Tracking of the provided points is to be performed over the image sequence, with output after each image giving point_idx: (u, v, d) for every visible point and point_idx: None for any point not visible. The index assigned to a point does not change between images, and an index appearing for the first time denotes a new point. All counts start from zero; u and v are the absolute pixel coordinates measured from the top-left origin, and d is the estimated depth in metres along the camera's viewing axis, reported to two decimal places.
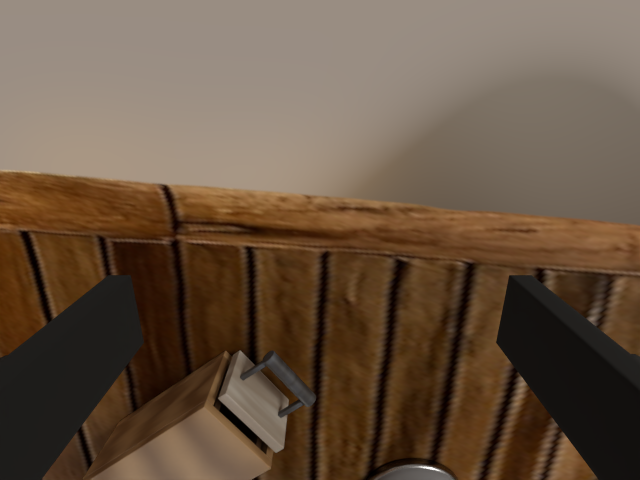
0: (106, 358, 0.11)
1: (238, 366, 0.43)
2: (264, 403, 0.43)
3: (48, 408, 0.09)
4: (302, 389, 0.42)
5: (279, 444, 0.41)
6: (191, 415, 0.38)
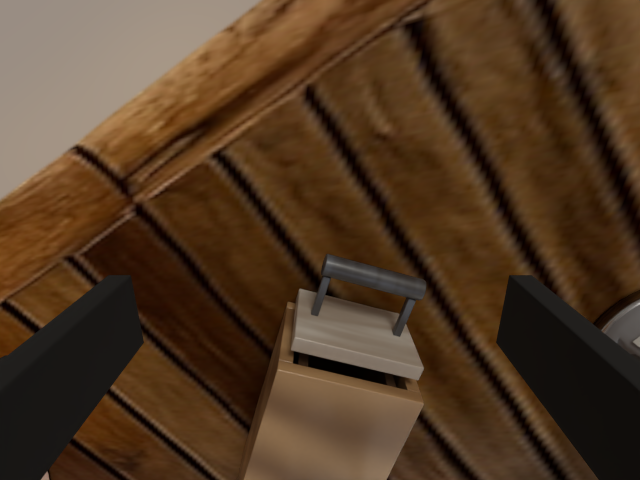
0: (106, 358, 0.11)
1: (303, 304, 0.30)
2: (364, 328, 0.29)
3: (48, 408, 0.09)
4: (397, 279, 0.28)
5: (414, 366, 0.27)
6: (271, 390, 0.26)
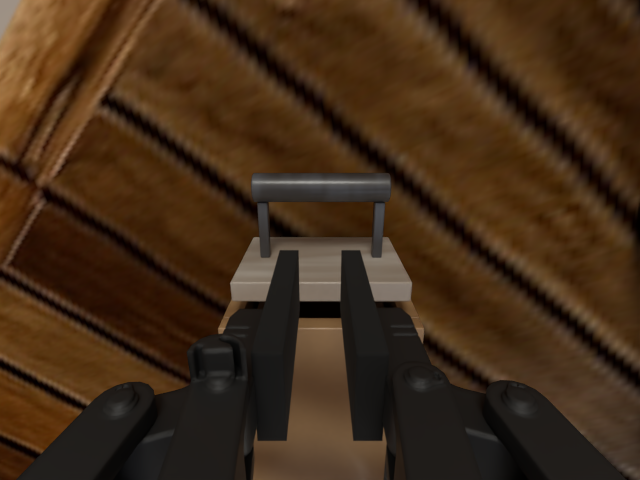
0: (296, 316, 0.13)
1: (254, 250, 0.24)
2: (332, 258, 0.23)
3: (291, 347, 0.11)
4: (349, 178, 0.21)
5: (397, 283, 0.20)
6: None
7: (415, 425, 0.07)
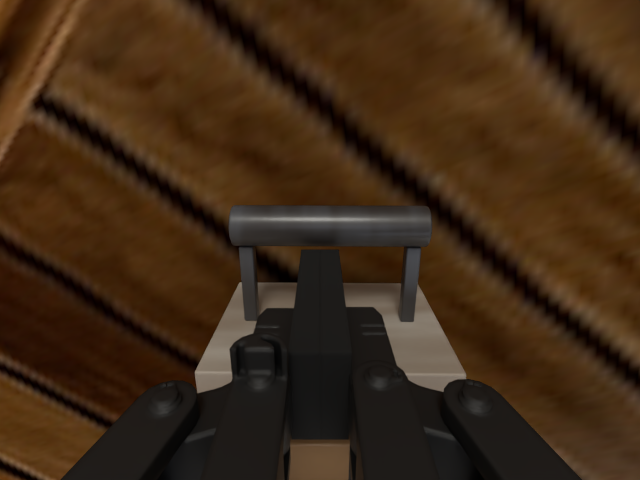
0: None
1: (237, 305, 0.18)
2: None
3: None
4: (371, 215, 0.14)
5: (444, 375, 0.13)
6: None
7: (374, 425, 0.07)
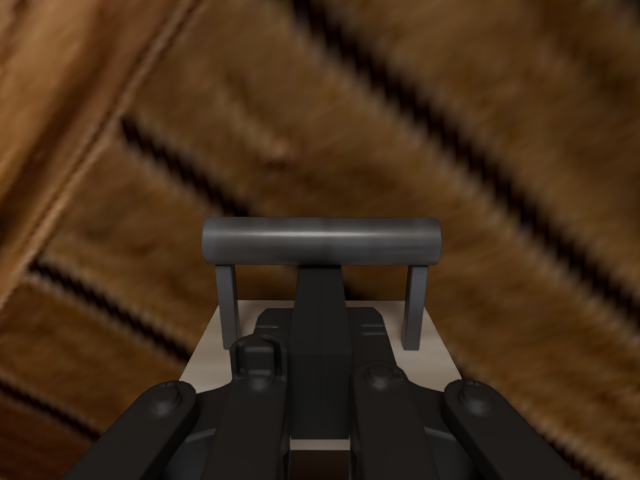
0: None
1: (216, 330, 0.15)
2: None
3: None
4: (371, 229, 0.12)
5: None
6: None
7: (374, 425, 0.07)
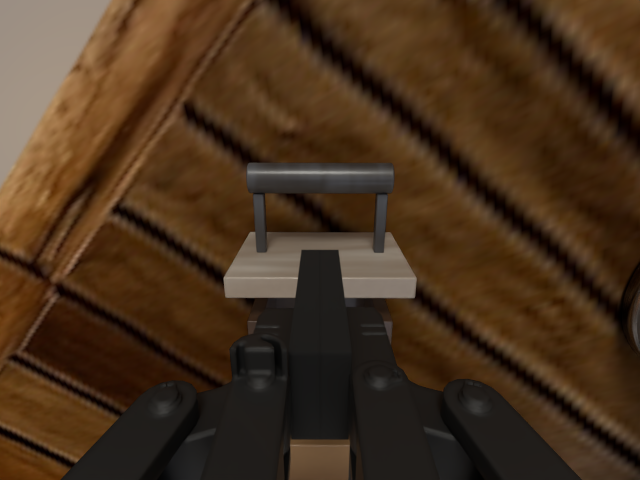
0: None
1: (250, 244, 0.23)
2: None
3: None
4: (350, 168, 0.20)
5: (401, 278, 0.18)
6: None
7: (374, 424, 0.07)
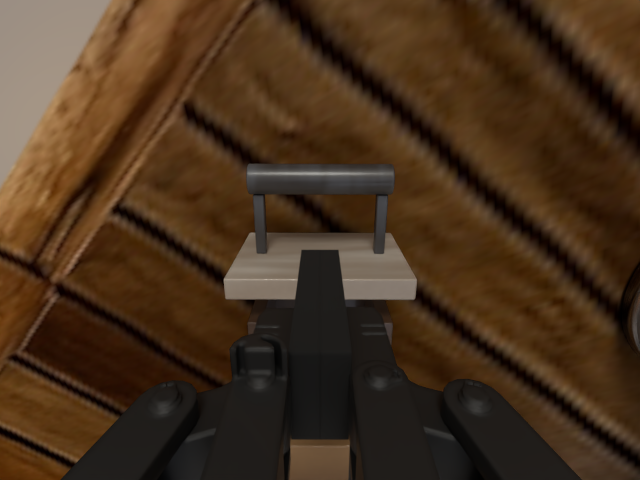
0: None
1: (249, 245, 0.23)
2: None
3: None
4: (350, 169, 0.20)
5: (401, 280, 0.18)
6: None
7: (374, 425, 0.07)
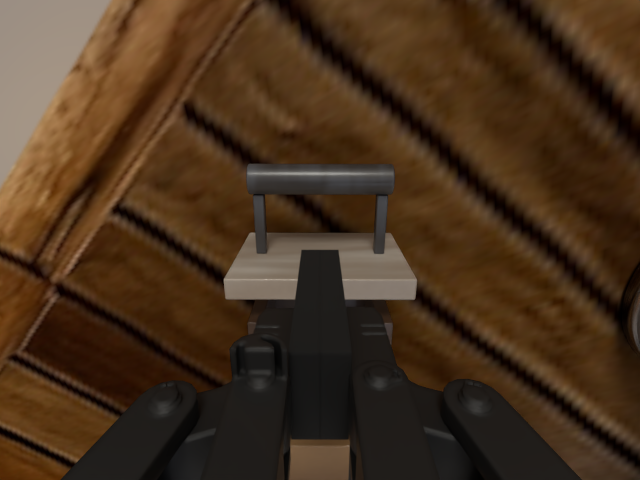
0: None
1: (249, 245, 0.23)
2: None
3: None
4: (350, 169, 0.20)
5: (401, 280, 0.18)
6: None
7: (374, 425, 0.07)
